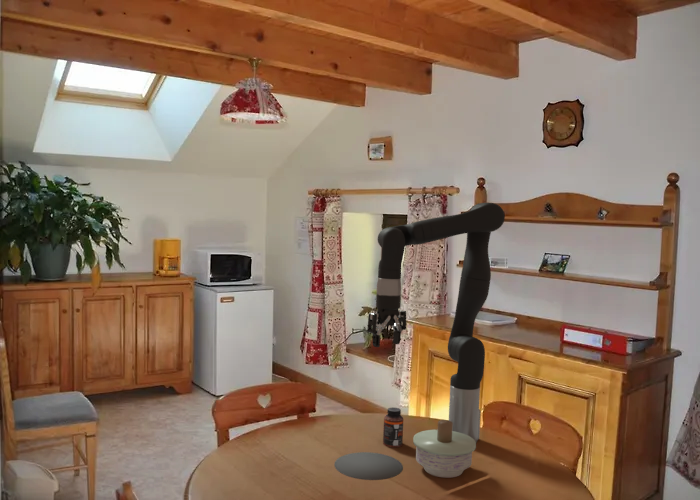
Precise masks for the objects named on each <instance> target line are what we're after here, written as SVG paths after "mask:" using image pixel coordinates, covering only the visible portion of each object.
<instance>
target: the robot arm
mask: <svg viewBox="0 0 700 500" xmlns="http://www.w3.org/2000/svg"><path fill="white" fill-rule="evenodd" d="M505 217H506V216H505V211H504V209H503V207H501V206H500V205H498V204H497V203H494V202H480V203H477V204H475V205H473V206H472V207H471V209H470V210H469V211H465V212H462V213H457V214H452V215H445V216H438V217H432V218H428V219H423V220H418V221H415V222H412V223H411V222H410V223H407V224H400V225H394V226H389V227H385V228H383V229H381V230H380V232H378V235H377V243H378V245H379V246H380V247H381V248H382V251H381V259H380V260H379V262H378V270H377V271H378V273H377V282H376V295H375V296H376V297H375V308H377V311H376V312H375V313H374V312H369V313H368V319H367V329H366V331H367V333H370V334H372V345H373V346H372V347H374V348H380V345H381V333H382V331H383V330H384V329H385V328H387V327H389V326H390V327H392V329H393V336H392V337H393V338H392V343H393V344H394V345H400V343H401V334H402V331H404V330H406V329H407V311H406V310H403V309H401V305H402V303H401V301H402V300H401V299H402V262H403V258H404V253H405V249H406V248H405V247H407V246H413V245H414V246H417V245H422V244H423V245H424V244H427V243H431V242H436V241H440V240H442V239H446V238H450V237H454V236H459V235H463V234H464V235H465V234H466V245H465V250H464V256H463V262H462V269H461V274H460V280H459V287H458V295H457V299H456V300H457V301H456V308H455V314H454V319H453V323H452V327H451V330H450V334H449V338H448V342H447V353H448V356H449V357H450V359H451V360H453V361H454V362H457V369H456V370H457V371H456V373H455V374H451V376H450V382H449V383H450V384H449V385H450V386H449V403H448V405H449V406H448V407H449V408H448V421H451V422H452V423H453V426H452V431H455V432H459V433H463V434H465V435H468V436H470V437H471V438H473V439H474V440H475V442H476V443H477V442H478V440H480V430H481V429H480V428H481V409H480V393H481V382H482V380H483V377H484V369H485V358H486V350H485V346H484V343H483V341H482V340H480V339H479V338H477V337H474V336H473V335H474V327H475V323H476V322H475V321H476V319H477V316H478V314H479V312H480V311H481V310H482V308H483V307H484V304H485V303H486V301H487V298H488V296H489V290H490V285H491V279H492V278H491V276H492V271H491V263H490V256H489V244H490V243H489V242H490V238H491V235H492V232H495V231H498V230H499V229H500V228H501V227H502V226H503V225H504V224H505Z"/></svg>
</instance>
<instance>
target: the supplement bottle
mask: <svg viewBox="0 0 700 500" xmlns="http://www.w3.org/2000/svg"><path fill="white" fill-rule="evenodd" d="M386 413H387V414H385V415H384V418H383V435H382V436H383V437H382V444H383V446H385V447H387V448H400V447H402V446H403V443H404V442H403V441H404V440H403V438H404V417H403V415H402V411H401V409H400V408H399V407H388V408H387V412H386Z"/></svg>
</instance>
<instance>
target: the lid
mask: <svg viewBox="0 0 700 500" xmlns="http://www.w3.org/2000/svg"><path fill="white" fill-rule="evenodd" d="M452 426H453V423H452V422H451V421H449V419H448V420H447V419H441V420H438V421H437V429H427V430H422V431H419V432H417V433H415V434H414V435H413V439H412V441H413V445H414V446H415V448H416V447H417V448H419V449H421V450H423V451H426V452H429V453H432V454H437V455H445V456H459V455H465V454H469V453H471V452H472V453H473V452H474V451H475V450H476V449H477V442H475V440H474V439H473V438H471V437H470V436H468V435H465V434H463V433H459V432H455V431H452Z"/></svg>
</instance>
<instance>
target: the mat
mask: <svg viewBox="0 0 700 500" xmlns="http://www.w3.org/2000/svg"><path fill="white" fill-rule="evenodd" d="M403 466H404V465H403V464H402V463H401V461H400V460H399V459H396V458H395V457H393V456H390V455H388V454H383V453H378V452H369V451H365V452H364V451H361V452H360V451H359V452H352V453H348V454H347V453H346V454H344V455H341V456H340V457H338V458H337V459H335V461H334V468H335V469H336V471H338V472H339V474H342V475H344V476H345V477H349V478H353V479H358V480H364V481H380V480H381V481H382V480H387V479H391V478H394V477H396V476H398V475H400V474H401V473H402V472H403V470H404V467H403Z"/></svg>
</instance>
